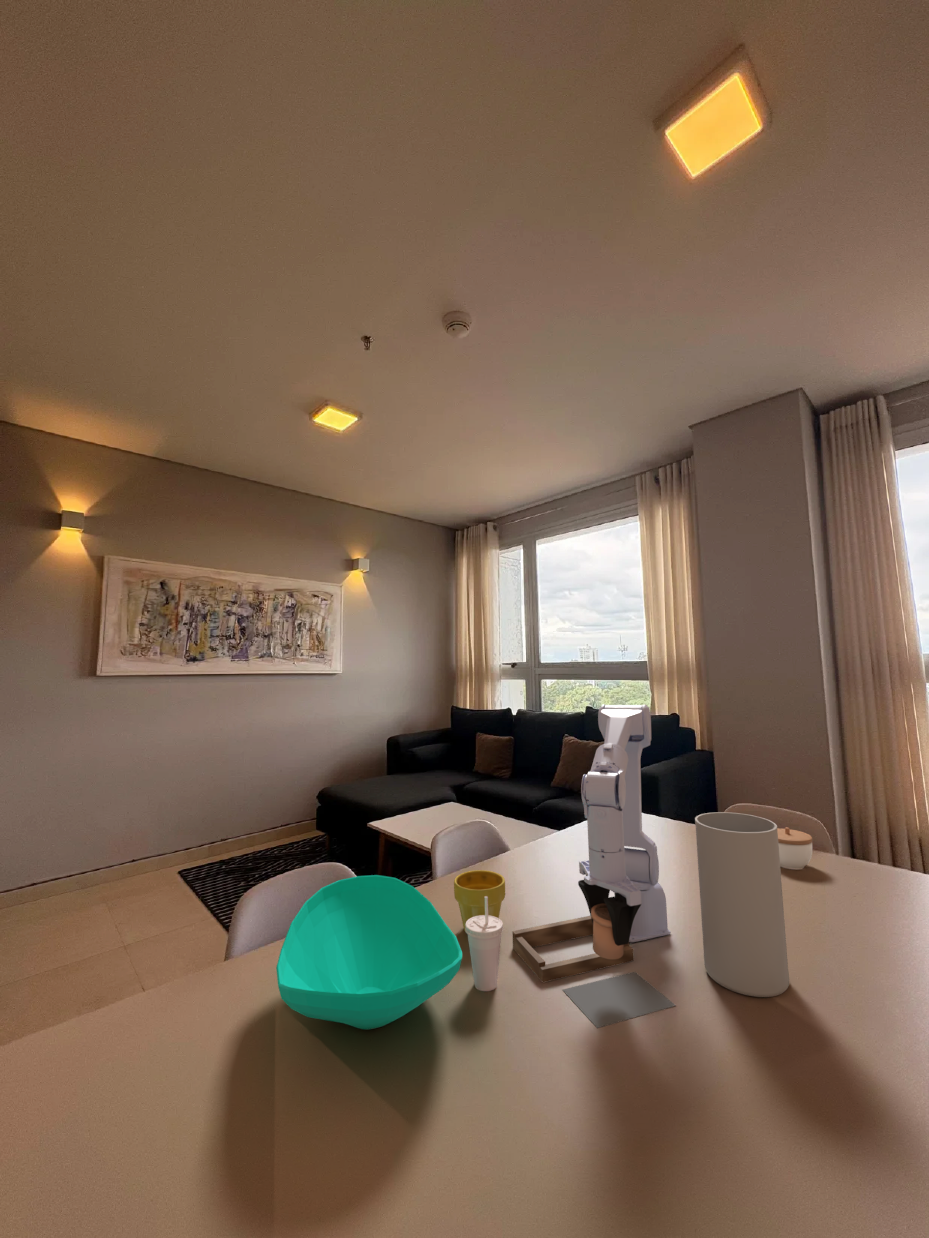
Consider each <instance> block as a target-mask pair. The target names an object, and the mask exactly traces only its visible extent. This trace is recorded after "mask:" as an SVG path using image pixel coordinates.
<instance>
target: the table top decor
mask: <svg viewBox="0 0 929 1238" xmlns="http://www.w3.org/2000/svg"><path fill="white" fill-rule="evenodd" d="M462 960H463V951H462V948H461V945H460V942H459V941H458V937H457V936H456V935H455V933H454V932H453V931H452V929H451V928H450V927H449V926H448V925H447V923H446V922H445V920H444V919H443V917H442V916H441V914H440V913H439V911H437V908H435V906H434V905H433V903H432V902H431V901H430V900H429V899H428V898H427V897H426V896H425V895H424V894H422V893H421V892H420V891H419V890H418V889H417V888H415V887H414V886H413V885H411V884H409V883H407V882H405V881H403V880H400V879H398V878H396V877H392V876H386V875H379V874H374V875H373V874H371V875H357V876H354V877H353V876H352V877H347V878H343V879H339V880H337V881H334V882H332V883H329V884H327V885H325V886H323V887H320V889H319V890H317V891H316V892H314V894H312V896H311V897H310V898H308V899H307V900H305V902H304V903H303V905H302V906H301V908H300V909H299V911H298V912H297V914H296V915H295V916H294V918H293V920H292V922H290V925H289V927H288V930H287V932H286V935H285V938H284V941H283V943H282V946H281V949H280V953H279V956H278V960H277V962H276V964H277V965H276V966H275V967H276V978H277V979H276V981H277V987H278V990H279V991H278V992H279V994H280V998H281V1000H282V1001H283V1002H284V1003H285V1004H286V1005H287V1006H288V1007H289V1008H290V1009H291V1010H292V1011H295V1012H297V1013H298V1014H300V1015H303V1016H305V1017H306V1018H310V1019H311V1018H312V1019H316V1020H321V1021H322V1020H323V1021H328V1022H333V1023H334V1022H335V1023H341V1024H345V1025H347V1026H351V1027H354V1028H357V1029H361V1030H373V1029H377V1028H381V1027H384V1026H386V1025H388V1024H391V1023H393V1022H394V1021H397V1020H398V1019H400V1018H401V1017H404V1016H405V1015H406V1014H408V1013H410V1012H411V1011H413V1010H414V1009H417V1008H418V1007H419V1006H420V1005H422V1004H424V1003H425V1002H427V1000H429V999H430V998H432V997H433V996H434V995H437V993H439V992H440V991H441V990H443V989H444V988H446V987H447V985H449V984H450V983H451V982H452V981H453V979H454V978H455V976H456V975H457V974H458V973H459V971H460V968H461V965H462Z"/></svg>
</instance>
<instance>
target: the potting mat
mask: <svg viewBox="0 0 929 1238" xmlns="http://www.w3.org/2000/svg"><path fill="white" fill-rule="evenodd" d="M562 991H563V993H565V995H566V996H567V997H568V998H569V999H570V1000H571V1001H572V1003H573V1004H574V1005H575V1006H576V1007H577V1008H578V1009H579V1010H580V1011H581V1013H583V1015H585V1017H586V1018H587V1019H588V1020H589V1021H590V1022H591V1024H593V1026H594V1027H595V1028H596V1029H599V1028H603V1027H607V1026H610V1025H615V1024H617V1023H620V1022H624V1021H628V1020H632V1019H635V1018H639V1017H643V1016H645V1015H649V1014H653V1013H657V1012H660V1011H665V1010H667V1009H671V1008H674V1007H677V1005H676V1004H675V1003H674V1002H672V1001H671V1000H670V999H669V998H668V997H667V996H665V995H664V993H661V991H660V990H658V989H657V988H656V987H654V986H653V985H652V984H651V983H649V981H647V980H646V979H644V978H643V977H642V976H641V975H640V974H638V973H637V972H636V971H633V972H628V973H624V974H620V975H616V976H615V975H614V976H613V977H607V978H604V979H600V980H595V981H592V982H587V983H583V984H579V985H575V986H572V987H567V988H563V989H562Z"/></svg>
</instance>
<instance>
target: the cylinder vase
mask: <svg viewBox="0 0 929 1238" xmlns="http://www.w3.org/2000/svg"><path fill="white" fill-rule="evenodd" d="M694 823H695V839H696V853H697V870H698V884H699V901H700V914H701V915H700V916H701V930H702V932H701V933H702V945H703V946H702V947H703V949H702V950H703V960H704V961H703V962H704V968H705V971H706V972H707V975H708V976H710V978H711V979H712V981H714V982H715V983H717V984H719V985H720V986H721V987H723V988H725V989H728V990H729V991H732V992H735V993H737V994H740V995H744V996H749V997H755V998H770V997H775V996H779V995H781V994H783V993H784V992H786V990H787V989H788V988H789V985H790V975H789V973H790V972H789V962H788V948H787V937H786V923H785V912H784V911H785V910H784V899H783V897H784V896H783V885H782V884H783V883H782V872H781V867H780V858H779V845H778V832H777V828H778V825H777V824H776V823H775V822H773V821H772V820H770V819H767V818H764V817H761V816H756V815H752V814H747V813H738V812H727V811H726V812H725V811H722V812H721V811H718V812H707V813H705V812H704V813H701V814H699V815H696V816H695V817H694Z"/></svg>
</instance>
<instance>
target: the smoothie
mask: <svg viewBox="0 0 929 1238" xmlns="http://www.w3.org/2000/svg"><path fill="white" fill-rule="evenodd" d="M465 931H466V932H465ZM465 931H464V932H465V934H466V935H467V940H468V947H469V954H470V960H471V968H472V970H471V971H472V975H473V981H474V982H473V983H474V988H475V989H477V990H478V991H481V992H491V991H494V990H495V989H496V988H497V986H498V975H499V974H498V973H499V964H500V954H501V953H500V951H501V943H502V942H501V941H502V933H503V931H504V922H503V920H502V919H500V917H499V918H497V917H494V916H489V915H488V897H487V896H485V915H480V916H475V917H472V918H470V919H468V920H467V921H466V924H465Z"/></svg>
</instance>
